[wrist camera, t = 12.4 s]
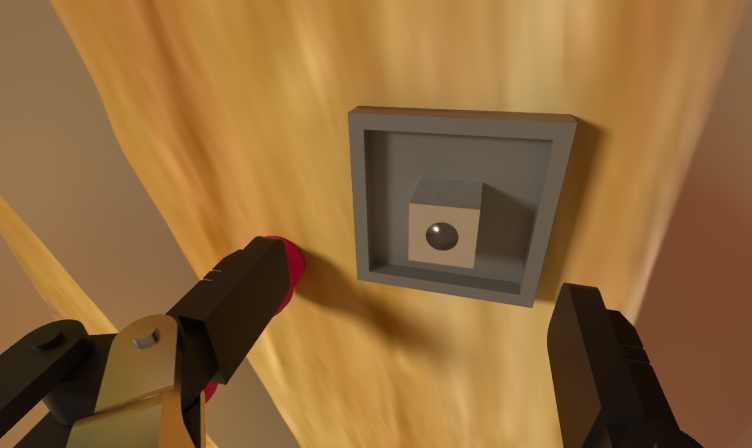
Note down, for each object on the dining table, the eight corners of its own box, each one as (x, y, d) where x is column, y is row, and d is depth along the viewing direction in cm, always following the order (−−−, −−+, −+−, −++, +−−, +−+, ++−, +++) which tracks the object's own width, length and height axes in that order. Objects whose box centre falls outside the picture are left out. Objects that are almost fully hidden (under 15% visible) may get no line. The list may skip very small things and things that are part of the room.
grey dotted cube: (419, 229, 34) (408, 260, 29) (420, 177, 31) (408, 203, 27) (476, 235, 32) (473, 268, 28) (482, 182, 30) (480, 210, 26)
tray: (365, 265, 38) (357, 279, 36) (358, 106, 30) (348, 112, 28) (530, 290, 34) (532, 307, 32) (571, 114, 27) (577, 123, 24)
